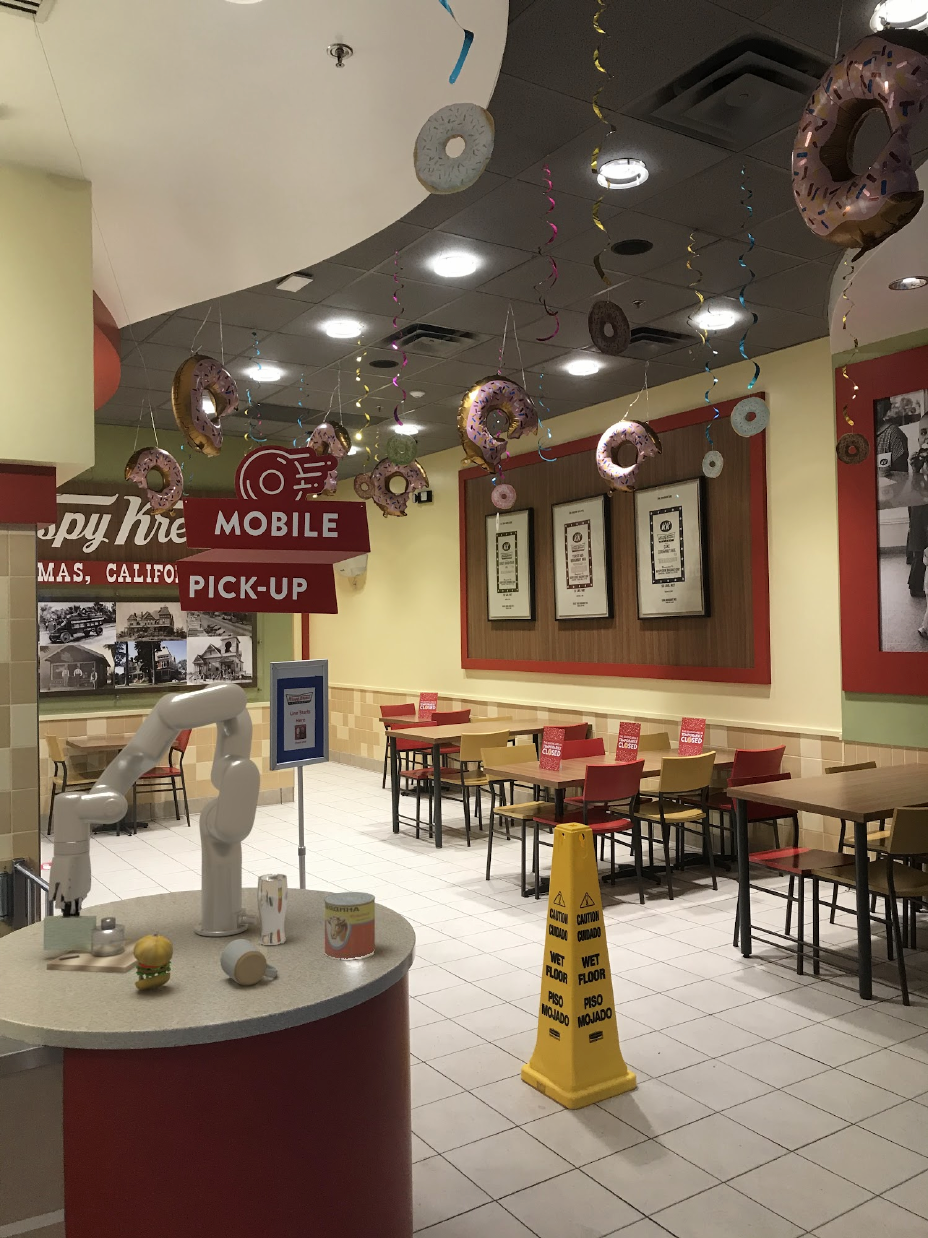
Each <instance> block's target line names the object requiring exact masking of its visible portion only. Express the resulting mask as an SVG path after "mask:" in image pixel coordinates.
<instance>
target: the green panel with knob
mask: <svg viewBox="0 0 928 1238" xmlns="http://www.w3.org/2000/svg"><path fill="white" fill-rule="evenodd" d="M100 921H101V922H100V925H97V915H80V916H63V915H47V916H45V917H43V951H71V950H91V954H92V955H96V956H109V955H115V954H119V953H121V952H123V951H124V950H125V940H126V925H125V924H121V923H117V919H116V917H114V916H110V917H109V916H107V917H102V918H101V919H100Z"/></svg>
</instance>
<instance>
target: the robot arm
mask: <svg viewBox="0 0 928 1238" xmlns="http://www.w3.org/2000/svg"><path fill="white" fill-rule="evenodd" d="M247 704H248V696H247V694H246V692H245V690H244V688H242V687H241V686H240V685H239V684H237V683H232V682H224V681H217V682H216V681H215V682H212V683H209V684H207V685H206V686H205V687H204V688H203V689H200V690H195V691H190V692H185V693H180V692H179V693H178V692H171V693H167V694H165V695H163V696H162V697H161V698H159V699H158V701H157V702H156V704H155V705H154V707H152V709H151V711H150V712H149V714H148V715H147V717H145V719H144V721H143V722H142V723H141V724H140V726H139V728H138V729H137V730H136V732H135V734H133V736H132V737H131V739H130V740H129V741H128V743H127V744H126V745H125V746H124V747H123V748H122V750H121V751H119V753H118V754H117V755H116V757H115V758H114V759H112V761H111V762H110V763H109V764H108V766H107V767H106V768H105V769H104V771H103V772H102V773H101V775H100V776H99V778H98V779H96V781H95V783H94V784H93V786H92V787H91V789H90V790H89V792H88V793H87V792H85V791H68V792H67V791H66V792H60V793H59V794H57V795H56V796H55V798H54V800H53V856H52V860H51V863H50V869H49V876H48V877H49V878H48V879H49V881H48V901H49V902H55V903H54V904H55V905H54V909H56V910H57V909H59V910H60V912H61V914H62V916H81V910H82V905H83V902H84V900H85V899H87V897H88V894H89V892H90V891H91V890H92V864H91V855H90V852H91V851H90V847H91V846H90V844H91V843H90V842H91V841H90V840H91V838H90V837H91V834H90V832H91V831H90V830H91V824H100V825H101V824H102V825H104V824H107V825H108V824H110V825H111V824H114V823H117V822H120V820H122V819H123V818H124V817H125V816H126V814H127V811H128V806H129V804H128V801H127V799H126V797H125V796H126V794H127V793H128V791H129V790H131V788H132V786H133V785H134V784H135V782H136V781H137V780H138V779H139V778H140V777H142V775H144V774H145V773H147V772H149V771H150V770H152V769H154V768H155V767H156V766H157V765H159V763H161V761H163V758H164V756H165V755H166V754H167V753H168V751H169V749H170V748H171V746H173V744H174V742H175V741H176V739H177V738H178V737H179V735H180V733H182V731H186V730H192V729H197V728H202V727H205V726H208V725H213V724H215V725H216V743H215V748H214V749H215V750H214V753H213V754H214V755H213V760H212V765H211V770H210V782H211V784H212V786H213V787H214V788H215V789H216V790H217V791H219V793H218V798H213V799H211V800H209V801H208V802H206V804H205V805H204V806H203V808H202V810H201V811H200V815H199V818H198V819H199V820H198V822H199V823H198V824H199V825H198V826H199V835H200V843H201V844H200V845H201V903H200V904H201V907H200V908H201V911H200V912H201V913H200V915H201V916H200V919H201V921H200V922H199V923H197V924H196V925H195V926H194V933H195V934H196V935H199V936H203V937H226V936H233V935H237V934H241V933H243V932H244V931H246V930H248V928H249V925H252V926H253V925H257V923H258V916H257V915H256V914H247V912H246V910H247V909H246V907H245V908H243V904H242V903H243V902H242V901H243V899H242V898H243V897H242V896H243V895H242V894H243V891H242V890H243V889H242V888H243V887H242V884H243V879H242V877H243V876H242V875H243V873H242V872H243V871H242V870H243V869H242V868H243V852H242V851H243V850H242V842H243V841H244V840H245V839H246V838H247V837H248V836H249V835H250V834H251V832H252V830H253V826H254V823H255V818H256V813H257V808H258V807H257V806H258V800H259V794H260V789H261V788H260V787H261V773H260V770H259V767H258V766H257V765H256V763H255V762H254V761H253V760H252V759H250V758H251V751H252V741H253V722H252V718H251V714H250V711H248V708H247Z"/></svg>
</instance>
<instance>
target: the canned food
mask: <svg viewBox="0 0 928 1238" xmlns="http://www.w3.org/2000/svg"><path fill="white" fill-rule="evenodd" d="M375 899H376V896H375V895H373V894H371V893H368V892H360V891H359V892H358V891H347V892H346V891H345V892H337V893H332V894H330V895H328V896H326V897H324V952H325V953H326V954H327V955H328V956H331V957H335V958H340V959H341V958H344V959H345V958H346V959H348V958H355V957H361V956H365V955H367V954H370V953H372V952H373V951H374V949H375V950H376V947H375V946H376V938H375V937H376V936H375V935H376V930H375V929H376V927H375V925H376V923H375V922H376V921H375V920H376V919H375V917H376V916H375V914H376V913H375V912H376V908H375Z"/></svg>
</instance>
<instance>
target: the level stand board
mask: <svg viewBox="0 0 928 1238" xmlns="http://www.w3.org/2000/svg"><path fill="white" fill-rule="evenodd" d="M138 941H139V940H129V939H128V940H127V939H125V950H124V951H123V952H121V953H119V954H115V955H109V956H96V955H92V954H91V950H68V951H67V952H65V953H63V954H62V955H61V956H58V957H57V958H55V959H53V960H50V961H49V962H47V963H46V970H52V971H54V970H55V971H70V972H71V971H74V972H75V971H76V972H96V973H97V972H99V973H112V974H113V973H118V974H127V972H128V973H129V971H131V970H132V969H134V968H136V965H138V964H137V963H138V962H139V961H138V960H137V959H135V957H134V954H133V953H134V947H135V945H136V943H137V942H138Z"/></svg>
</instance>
